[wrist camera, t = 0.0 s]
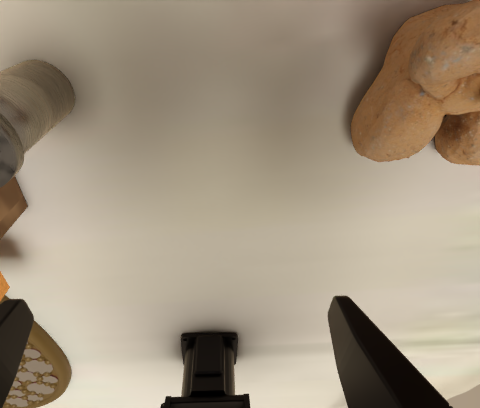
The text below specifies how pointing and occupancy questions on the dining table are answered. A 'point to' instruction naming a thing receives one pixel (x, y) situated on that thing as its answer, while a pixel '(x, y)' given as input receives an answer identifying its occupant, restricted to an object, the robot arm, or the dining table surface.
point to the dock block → (10, 205)
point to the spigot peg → (29, 110)
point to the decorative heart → (39, 372)
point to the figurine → (426, 90)
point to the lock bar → (3, 286)
